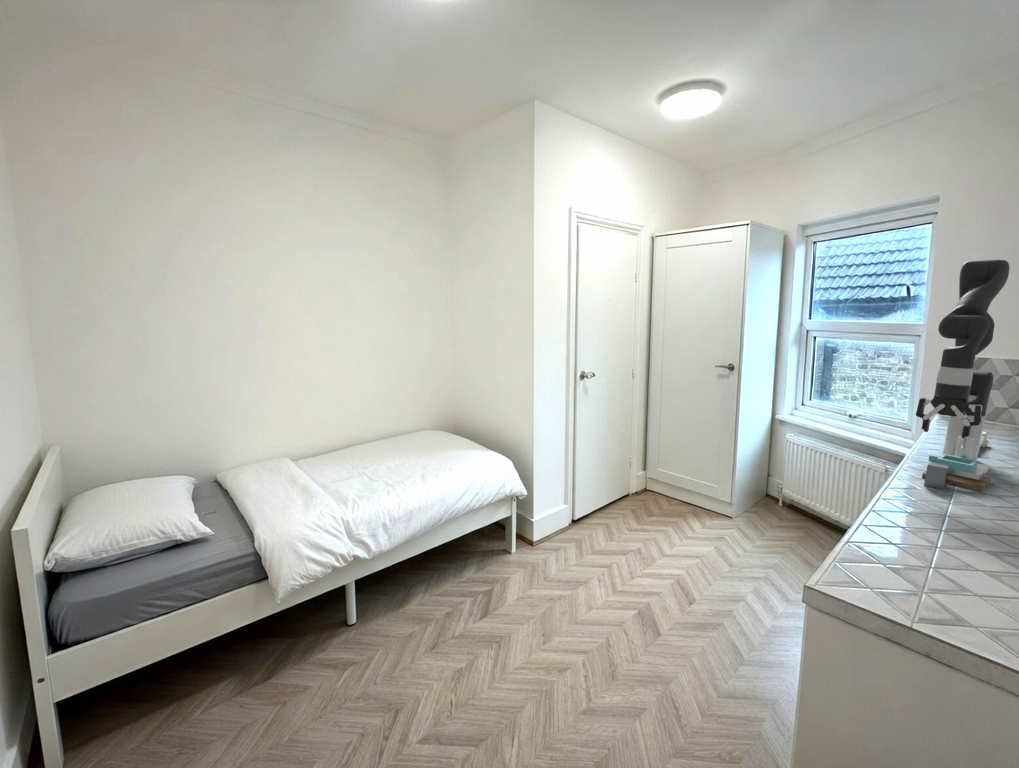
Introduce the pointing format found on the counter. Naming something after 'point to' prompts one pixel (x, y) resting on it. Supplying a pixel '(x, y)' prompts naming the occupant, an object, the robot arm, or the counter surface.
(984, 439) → the cream flanged bar
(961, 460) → the bracket head
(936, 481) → the brushed steel block
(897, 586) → the counter surface
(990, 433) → the counter surface
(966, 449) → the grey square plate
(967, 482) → the foot plate
